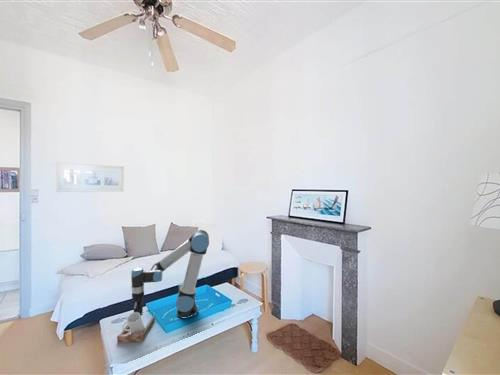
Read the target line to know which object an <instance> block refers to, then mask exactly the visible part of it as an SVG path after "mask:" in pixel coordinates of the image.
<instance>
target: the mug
mask: <svg viewBox="0 0 500 375" xmlns="http://www.w3.org/2000/svg"><path fill="white" fill-rule="evenodd" d="M126 324H127V325H129V328H130V329H128V330H126V329H125V327H124V326H125V325H126ZM145 328H146V326H145V324H144V322H143V319H142V315H140V313H139V312H134V311H133V312H131V313H130V314H129V315H127V318H126V321H125V322H124V323H123V325H122V331H123V330H125V331H128V332H130V334H142V332H143V331H144V329H145Z"/></svg>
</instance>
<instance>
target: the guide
mask: <svg viewBox="0 0 500 375" xmlns="http://www.w3.org/2000/svg"><path fill="white" fill-rule="evenodd" d="M155 320H156V316H151V318H150V320H149V321H148V323H147V324H146V326H145V329H144V331H143V332H142V333H141V334H131V333H128V332H129V331H125V330H123V329H122V331H121V333H119V334H117V336H116V338H117V340H116V342H117V344H120V343H121V344H122V343H124V344H126V343H143V341H144V339H145V338H146V336H147V334H148V333H149V330H150V329H151V328H152V326H153V324H154V323H155ZM124 329H126V330H128V329H130V328H129V325H128V324H127V325H126V326H125V327H124ZM127 333H128V334H127Z"/></svg>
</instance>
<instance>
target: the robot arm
mask: <svg viewBox="0 0 500 375" xmlns="http://www.w3.org/2000/svg"><path fill="white" fill-rule="evenodd" d="M209 238H210V236H209V234H208V232H207V231H205V230H203V229H199V230H196V231H195V232H194V233H193V234H191V235H190V236H189V237H188V238H187V240H186V241H185V242H183V243H182V244H181V245H180V246H178V247H177V248H175V249H174V250H173V251H171V252H170V253H169V254H167V255H166V256H165V257H163V258H162V259H160V260H159V261H158V262H156V263H154V264H153V265H152V267H151V268H150V269H149V270H144V268H143V267H136V268H133V269H132V270H131V272H130V273H131V274H130V275H131V276H130V277H131V281H130V282H131V287H130V289H131V299H132V300H134V302H133V303H134V305H133V306H132V309H133V313H134V312H139V313H140V315H141V316H143V315H144V314H143V312H144V311H143V308H144V297H145V284H146V283H147V284H148V283H149V284H150V283H159V282H162V280H163V274H164V273H163V272H165V271H166V270H167V269H169V267H171V266H172V265H173V264H175V263H177V262H178V261H179V260H180V259H182V258H183V257H185V255H187V254H188V253H190V255H189V260H188V263H187V267H186V271H185V276H184V278H183V282H180V283H179V285H178V294H177V298H176V300H175V306H176V308H177V311H176V316H177V317H178V316H179V317H188V316H191V315H194V314H195V313H197V312H199V310H198V306H197V302H196V294H197V289H196V286H197V282H198V278H199V274H200V269H201V266H202V262H203V257H204V256H205V255H206V254H207V250H208V248H209V245H210V239H209ZM197 314H198V313H197ZM179 317H178V318H179Z"/></svg>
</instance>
